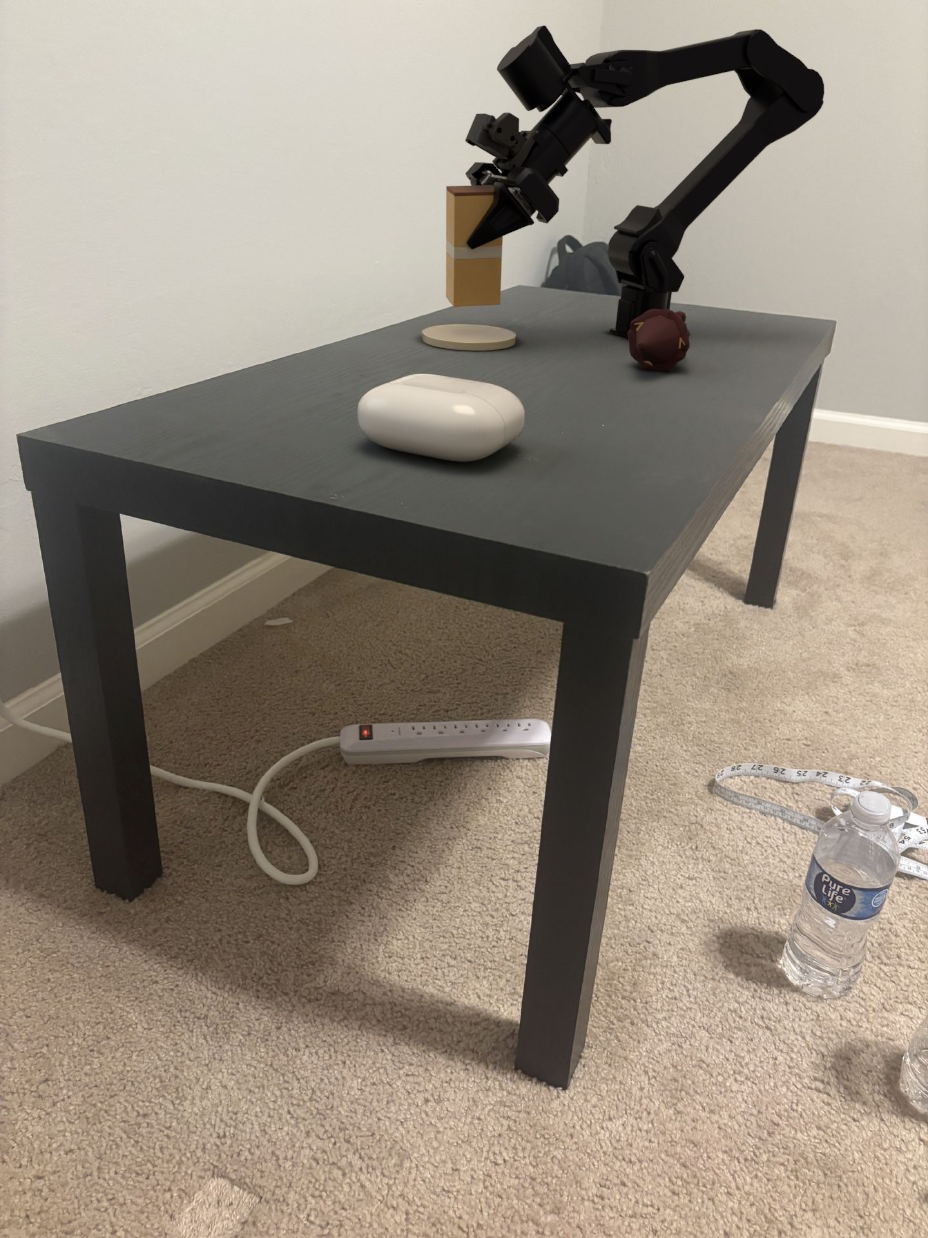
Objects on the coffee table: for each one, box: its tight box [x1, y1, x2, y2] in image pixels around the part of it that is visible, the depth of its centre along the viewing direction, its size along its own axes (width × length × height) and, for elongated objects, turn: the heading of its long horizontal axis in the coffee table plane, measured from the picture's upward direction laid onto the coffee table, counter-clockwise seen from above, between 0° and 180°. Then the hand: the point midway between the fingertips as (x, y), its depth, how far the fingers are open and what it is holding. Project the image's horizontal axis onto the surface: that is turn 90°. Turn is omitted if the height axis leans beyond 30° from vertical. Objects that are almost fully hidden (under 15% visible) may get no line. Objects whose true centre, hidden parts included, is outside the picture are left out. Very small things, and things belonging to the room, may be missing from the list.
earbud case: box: [356, 373, 526, 463], centre depth 75 cm, size 10×13×5 cm
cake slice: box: [445, 185, 504, 308], centre depth 110 cm, size 6×4×13 cm
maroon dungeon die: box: [627, 309, 691, 372], centre depth 104 cm, size 7×7×15 cm
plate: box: [421, 323, 517, 352], centre depth 116 cm, size 12×12×1 cm
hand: (462, 243), depth 110 cm, fingers closed on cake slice, 5 cm apart
